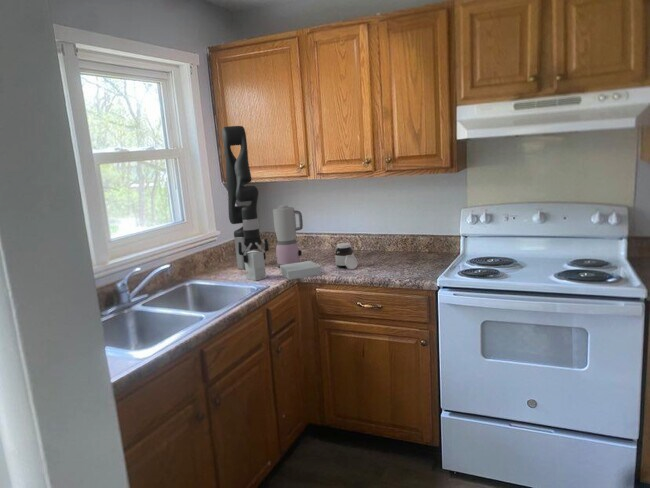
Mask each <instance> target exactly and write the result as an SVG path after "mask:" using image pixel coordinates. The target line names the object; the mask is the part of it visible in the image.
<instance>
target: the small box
mask: <svg viewBox="0 0 650 488" xmlns="http://www.w3.org/2000/svg"><path fill="white" fill-rule="evenodd" d="M246 256H247V263H245V269H244V270H245V276H246V277H245V278H246V280H251V281H259V280H263V279H266V278H267V273H266V272H267V271H266V265H265V264H266V263H265V260H264V254H263V252H262V251H261V250H259V251H258V250H253V251H250V252H247V254H246Z"/></svg>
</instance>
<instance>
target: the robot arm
mask: <svg viewBox="0 0 650 488" xmlns="http://www.w3.org/2000/svg"><path fill="white" fill-rule="evenodd" d="M221 131H222V132H221V135H222V136H221V137H222V143H223V151H224V158H225V159H224V161H225V177H226V186H227V187H226V188H227V200H228V220H229V222H230V224H232V225H238V224H242V225H241V227H240V228H238V229H236V230H234V232H233V239H234V247H235V256H236V263H237V269H238V270H246V269H245V263H247V256H246V254H247V252H250V251H254V250H258V249H259V251H260V252H263V254H264V261H266V259H267V258H266V257H267V256H266V252H268V251H269V250H270V249H269V243H268V239H267V238H263V239H262V238H261V234H260V224H259V219H258V211H257V205H258V199H259V190H258V187H257V186H255V185H250V186H249V185H247V184H250V183H251V182H252V173H251V170H250V165H249V155H248V154H249V152H248V142H247V141H248V139H247V133H246V129H245V127H244V126H243V125H233V126H230V125H229V126H223V128H222V130H221ZM232 146H240V151H239V154H238V156H237V158H236V156H234V153H233V151H232V148H231V147H232ZM245 185H246V186H245ZM236 202H240V203H245V202H250V204H248V205H245V204H244V205H236ZM262 243H263V245H264V248H263V247H262V245H261V244H262Z"/></svg>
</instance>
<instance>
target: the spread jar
mask: <svg viewBox="0 0 650 488" xmlns="http://www.w3.org/2000/svg"><path fill="white" fill-rule="evenodd" d="M334 253H335V254H334V256H335V257H334V258H335V259H334V261H335V265H336V267H337V268H338V269H341V270H342V269H348V270H354V269H356V268H357V267H358V260H357V258H356V257H355V255H354V254H355V253H354V250H353V248H352V247H351V243H350V242H342V243H337V244H336V250H335V252H334Z"/></svg>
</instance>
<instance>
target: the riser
mask: <svg viewBox="0 0 650 488" xmlns="http://www.w3.org/2000/svg"><path fill="white" fill-rule="evenodd" d="M279 269H280V275H283V277H284V278H286V279H287V280H288V281H290V280H291V281H292V280H297V279H303V278H309V277H315V276H321V275H322V270H321V269H322V268H321V265H318V264H317V263H316V262H314V261H312V260H306V261H300V262H298V263H292V264H285V265H280V268H279Z"/></svg>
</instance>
